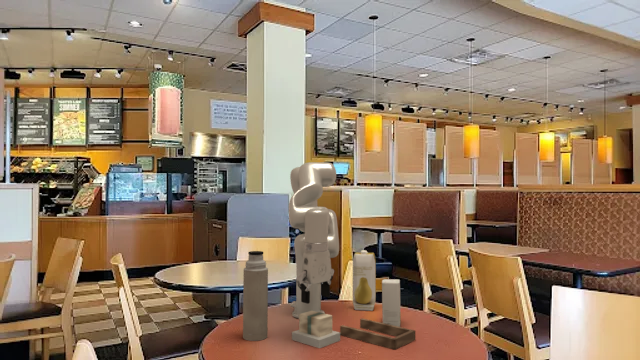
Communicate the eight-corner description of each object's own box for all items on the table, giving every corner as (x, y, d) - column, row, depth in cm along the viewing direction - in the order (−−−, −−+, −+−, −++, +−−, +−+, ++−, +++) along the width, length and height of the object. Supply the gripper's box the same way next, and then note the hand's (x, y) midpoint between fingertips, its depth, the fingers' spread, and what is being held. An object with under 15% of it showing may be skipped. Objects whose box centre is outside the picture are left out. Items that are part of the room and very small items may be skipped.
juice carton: (352, 310, 179) (352, 251, 180) (353, 305, 187) (353, 248, 188) (375, 311, 178) (375, 251, 179) (376, 306, 186) (375, 249, 186)
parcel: (299, 331, 143) (299, 313, 144) (311, 327, 148) (311, 310, 148) (319, 337, 137) (319, 319, 138) (332, 332, 142) (332, 315, 142)
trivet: (291, 339, 143) (291, 331, 143) (312, 332, 150) (312, 325, 150) (319, 348, 135) (319, 340, 135) (340, 340, 142) (340, 332, 142)
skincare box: (400, 327, 156) (400, 283, 157) (381, 326, 157) (381, 282, 158) (400, 321, 164) (400, 278, 165) (382, 320, 166) (382, 278, 166)
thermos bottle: (250, 332, 150) (250, 249, 151) (271, 334, 148) (272, 250, 149) (238, 339, 143) (239, 252, 144) (260, 342, 140) (261, 253, 141)
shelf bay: (340, 335, 148) (340, 325, 148) (362, 326, 157) (362, 318, 157) (394, 349, 134) (394, 339, 134) (415, 339, 143) (415, 330, 143)
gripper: (306, 252, 135) (305, 308, 135) (341, 245, 148) (341, 296, 148) (289, 249, 140) (288, 302, 140) (324, 242, 153) (324, 291, 153)
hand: (315, 299), depth 144 cm, fingers open, 9 cm apart
